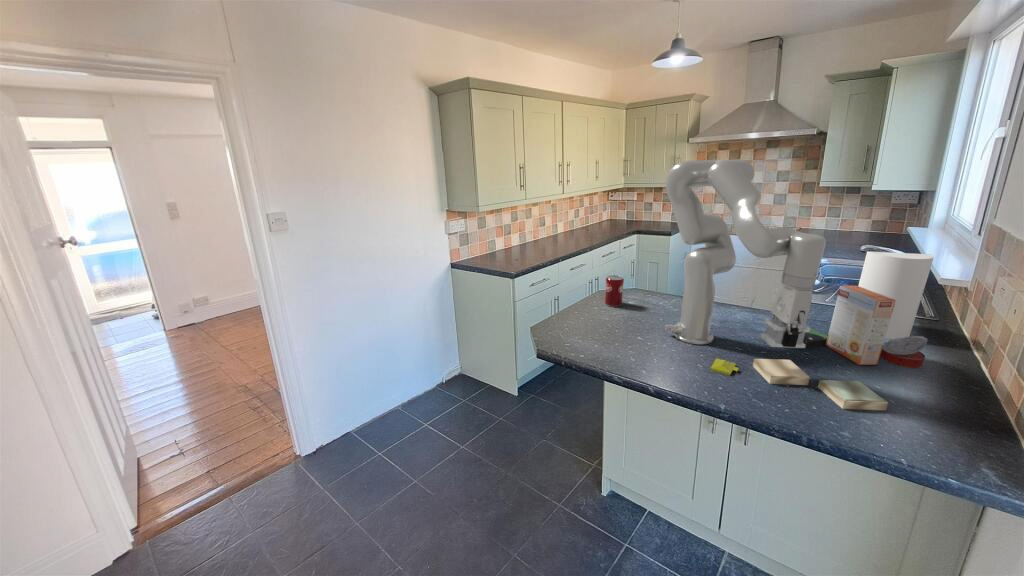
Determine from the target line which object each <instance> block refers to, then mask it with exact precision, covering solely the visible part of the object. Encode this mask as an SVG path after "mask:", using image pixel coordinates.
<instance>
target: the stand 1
mask: <svg viewBox="0 0 1024 576" xmlns="http://www.w3.org/2000/svg"><path fill="white" fill-rule="evenodd" d="M752 367H753V368H754V370H756V372H758V373H759V375H760V376H762V378H763V379H764V380H765V381H767V383H769V384H768V385H789V386H791V385H792V386H793V385H794V386H796V385H797V386H799V385H800V386H808V385H809V382H810V376H809V375H808V374H807V373H806V372H805V371H803V370H802V369H801V368H800V367H799V366H798V365H796V363H794V362H793V361H792V360H791V359H779V358H778V359H776V358H775V359H774V358H772V359H771V358H753V363H752Z"/></svg>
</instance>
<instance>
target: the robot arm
mask: <svg viewBox="0 0 1024 576" xmlns="http://www.w3.org/2000/svg"><path fill="white" fill-rule="evenodd" d="M754 177H755V167H754V166H753V165H752V163H751V162H749V161H748V160H746V159H740V158H739V159H736V158H735V159H707V160H706V159H705V160H704V159H702V160H697V159H694V160H685V161H681V162H678V163H676V164H675V165H674V166H672V167H671V168H670V170H669V172H668V174H667V177H666V179H665V189H666V194H667V197H668V199H669V201H670V204H671V207H672V209H673V212H674V217H675V219H676V220H675V221H676V224H677V228H678V230H679V234H680V238H681V240H682V241H683V243H684V244H685V245H688V246H698V245H704V246H705V247H698V248H695V249H693V250H691V251H689V252H688V253H687V254H686V256H685V257H684V260H683V268H684V270H683V271H684V285H683V287H684V288H683V297H682V304H681V313H680V319H679V320H680V321H677V323H674V324H665V326H664V329H665V331H670V333H673V335H674V337H675V339H677V340H680V342H684V343H687V344H692V345H707V344H710V343H712V342H713V341H714V339H715V338H714V337H715V336H714V334H712V333H711V332H710V330H711V329H710V328H711V323H712V316H713V314H712V313H713V310H714V309H713V308H714V301H715V294H716V284H715V282H714V277H713V276H715V275H719V274H725V273H727V272H729V271H731V270H732V269H734V266H735V264H736V260H737V258H736V257H737V256H736V251H735V247H734V245H733V241H732V238H731V237H732V236H731V235H730V231H729V228H728V225H727V223H726V222H725V220H724V218H722V217H720V216H719V215H718V214H717V215H716V214H705V212H704V210H703V208H702V204H701V201H700V198H699V197H698V196H697V194H696V193H695V192H694V191H693V188H705V187H712V188H713V189H714V190H715V192H716V193H717V195H718V196H719V197H720V199H721V200H722V201H723V202H724V203H725V205H726V206H727V207H728V209H729V210H730V211H731V213H732V217H731V219H732V226H733V230H734V233H735V235H736V236H737V238H738V239H739V241H740V242H741V243H742V245H743V246H744V248H746V250H747V251H748V252H749V253H750V254H752V255H753V256H755V257H756V258H760V259H767V258H772V257H778V256H786V257H785V258H786V259H785V262H784V266H783V270H782V274H781V278H780V280H779V282H778V284H777V287H776V290H775V292H774V295H773V298H772V301H771V305H770V312H771V313H772V315H773V316H772V318H779V319H780V320H781V321H783V322H784V323H785V324H788V333H785V337H784V341H783V346H784V347H783V348H790V347H796V343H797V340H798V336H799V335H800V334H801V333H802V332H803V331H805V330H806V329H807V326H808V325H807V321H808V319H809V314H810V311H811V310H810V309H811V306H812V305H811V304H812V299H813V290H814V288H815V285H816V281H817V276H818V274H819V270H820V267H821V263H822V260H823V256H824V252H825V249H826V244H827V240H826V239H825V237H824V236H821V235H819V234H814V233H807V232H806V233H805V232H802V231H799V230H795V229H794V228H789V227H776V228H769V229H767V228H766V227H765V226H764V224H763V223H762V222H761V221H760V219H759V218H758V216H757V214H756V210H755V209H756V208H755V207H756V206H757V205H758V203H759V202H760V201H761V198H762V194H761V192H760V191H759V190H758V189H757V188H756V186H755V185H754V184H753V183H752V182H753V179H754ZM794 321H797V323H794ZM792 325H796V328H794V329H792Z"/></svg>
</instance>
